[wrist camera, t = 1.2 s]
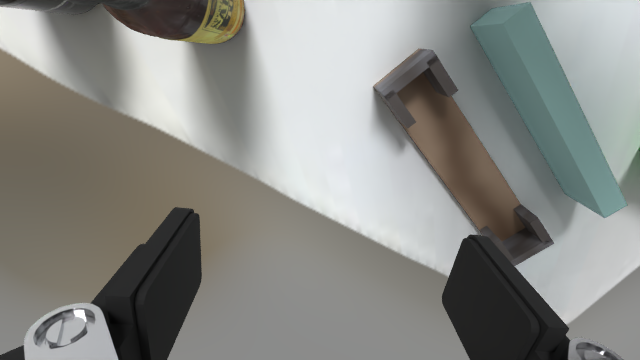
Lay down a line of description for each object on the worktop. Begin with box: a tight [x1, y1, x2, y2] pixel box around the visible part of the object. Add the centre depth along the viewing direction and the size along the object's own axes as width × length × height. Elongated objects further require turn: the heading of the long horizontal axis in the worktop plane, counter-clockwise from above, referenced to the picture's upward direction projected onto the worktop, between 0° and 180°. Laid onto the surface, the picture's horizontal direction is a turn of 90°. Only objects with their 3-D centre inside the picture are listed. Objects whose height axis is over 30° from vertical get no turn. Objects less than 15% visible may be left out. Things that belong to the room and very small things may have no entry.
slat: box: [470, 2, 627, 218], centre depth 32 cm, size 24×2×6 cm, turn 40°
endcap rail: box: [373, 49, 554, 266], centre depth 35 cm, size 6×27×4 cm, turn 40°
